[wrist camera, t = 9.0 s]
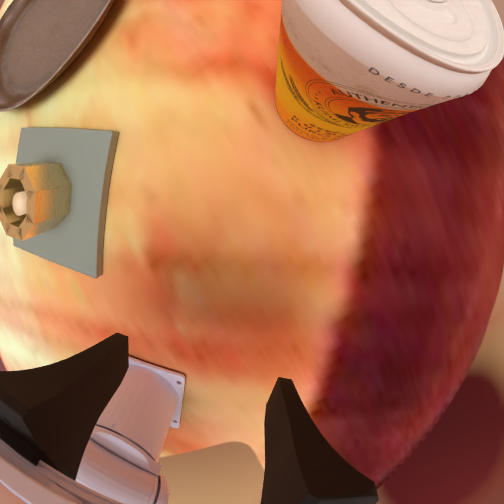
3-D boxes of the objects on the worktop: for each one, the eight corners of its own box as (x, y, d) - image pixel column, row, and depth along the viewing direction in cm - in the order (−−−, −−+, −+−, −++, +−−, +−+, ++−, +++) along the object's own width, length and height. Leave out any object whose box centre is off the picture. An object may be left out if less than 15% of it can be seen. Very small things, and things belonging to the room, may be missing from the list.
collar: (68, 231, 19) (34, 246, 15) (30, 219, 19) (-3, 230, 15) (74, 165, 18) (37, 168, 14) (34, 160, 18) (-1, 163, 13)
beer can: (283, 148, 18) (335, 79, 4) (266, 69, 16) (259, -97, 2) (366, 138, 17) (538, 105, 3) (347, 62, 16) (454, -61, 1)
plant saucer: (129, 68, 17) (109, 56, 13) (-9, 138, 18) (-28, 139, 15) (145, -65, 11) (135, -80, 8) (15, 8, 12) (1, 3, 9)
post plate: (102, 274, 22) (69, 298, 17) (19, 242, 21) (-13, 256, 17) (119, 132, 18) (81, 126, 13) (28, 128, 18) (-8, 127, 13)
